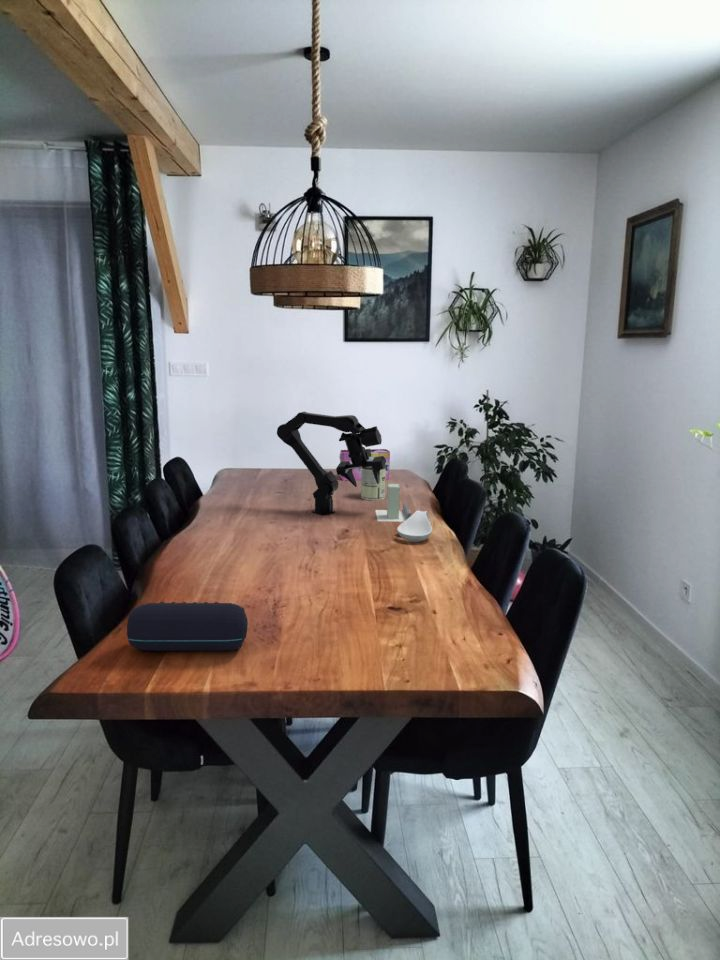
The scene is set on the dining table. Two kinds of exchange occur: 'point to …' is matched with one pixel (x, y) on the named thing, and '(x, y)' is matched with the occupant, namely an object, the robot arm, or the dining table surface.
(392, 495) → the green carton
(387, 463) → the pink printed box
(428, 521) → the spoon rest
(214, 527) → the dining table surface
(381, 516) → the white plate with rail
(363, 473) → the coffee can
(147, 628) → the portable speaker
